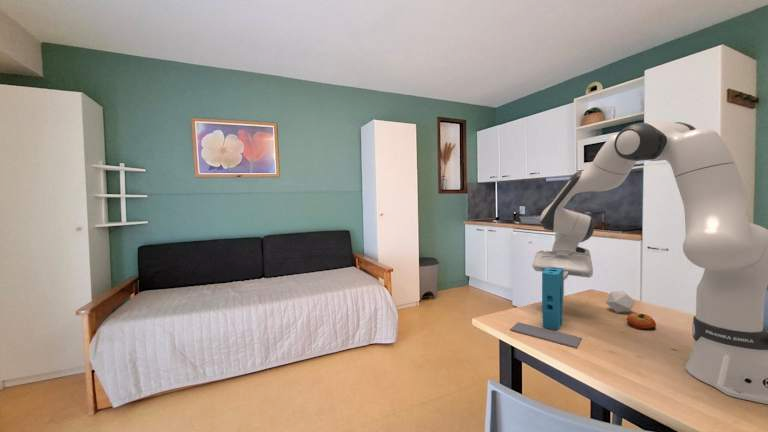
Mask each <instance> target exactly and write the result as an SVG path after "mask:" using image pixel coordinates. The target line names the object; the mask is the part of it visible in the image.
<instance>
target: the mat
mask: <svg viewBox="0 0 768 432" xmlns="http://www.w3.org/2000/svg"><path fill="white" fill-rule="evenodd" d="M509 331H510V332H514V333H517V334H520V335H521V334H522V335H525V336H529V337H532V338H536V339H541V340H544V341H547V342H551V343H555V344H558V345H562V346H566V347H570V348H573V349H578V347H579V345H580V343H581V341H582V338H583V337H580V336H577V335H572V334H570V333H569V334H568V333H565V332H560V331H557V330H553V329H548V328H544V327H539V326H536V325H535V326H534V325H532V324H531V325H530V324H526V323H522V322H520V321H519V322H516V323H515V324H514V325H513V326H512V327H511V328H510V329H509Z"/></svg>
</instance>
